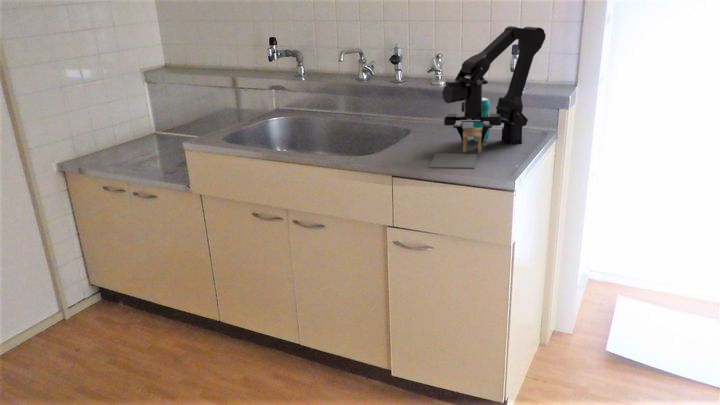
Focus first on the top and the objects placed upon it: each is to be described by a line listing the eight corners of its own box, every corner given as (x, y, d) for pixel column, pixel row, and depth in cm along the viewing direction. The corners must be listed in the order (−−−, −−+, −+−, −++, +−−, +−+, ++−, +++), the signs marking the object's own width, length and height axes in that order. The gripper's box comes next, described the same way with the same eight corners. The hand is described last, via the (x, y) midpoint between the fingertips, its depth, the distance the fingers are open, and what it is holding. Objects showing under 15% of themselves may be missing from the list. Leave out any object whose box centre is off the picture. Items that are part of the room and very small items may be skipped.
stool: (482, 147, 207) (482, 127, 204) (481, 152, 201) (481, 132, 199) (464, 147, 208) (464, 127, 206) (463, 152, 203) (463, 132, 200)
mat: (477, 155, 199) (477, 154, 199) (474, 168, 186) (474, 167, 186) (435, 154, 203) (435, 153, 202) (429, 167, 190) (429, 166, 190)
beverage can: (489, 142, 212) (489, 100, 206) (472, 142, 213) (472, 100, 208) (489, 138, 217) (489, 96, 212) (473, 138, 218) (473, 97, 213)
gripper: (502, 93, 203) (501, 137, 209) (447, 94, 208) (447, 137, 214) (501, 100, 193) (500, 147, 199) (443, 101, 198) (444, 146, 204)
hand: (472, 144), depth 204 cm, fingers closed on stool, 5 cm apart
